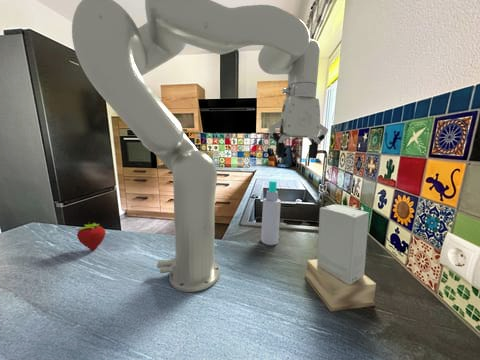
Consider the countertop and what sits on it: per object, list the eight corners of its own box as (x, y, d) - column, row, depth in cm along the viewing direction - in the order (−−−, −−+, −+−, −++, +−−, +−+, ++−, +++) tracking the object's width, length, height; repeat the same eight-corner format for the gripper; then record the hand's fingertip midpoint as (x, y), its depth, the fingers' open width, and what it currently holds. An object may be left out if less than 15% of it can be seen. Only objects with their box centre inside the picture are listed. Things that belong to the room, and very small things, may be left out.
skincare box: (364, 277, 41) (373, 212, 39) (348, 287, 38) (357, 217, 36) (329, 258, 48) (335, 202, 46) (313, 265, 45) (319, 205, 43)
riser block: (330, 311, 38) (333, 289, 37) (304, 277, 48) (306, 259, 47) (374, 305, 40) (377, 284, 39) (340, 274, 50) (342, 256, 49)
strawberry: (97, 256, 55) (94, 223, 53) (72, 254, 55) (69, 222, 54) (111, 246, 61) (109, 216, 59) (89, 244, 61) (86, 215, 60)
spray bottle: (259, 237, 70) (262, 179, 66) (275, 237, 70) (279, 180, 67) (262, 245, 64) (265, 182, 60) (280, 245, 64) (284, 182, 61)
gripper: (275, 87, 45) (272, 157, 48) (339, 93, 48) (332, 159, 51) (266, 95, 53) (263, 156, 55) (321, 100, 56) (316, 158, 58)
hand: (296, 158), depth 53 cm, fingers open, 9 cm apart
